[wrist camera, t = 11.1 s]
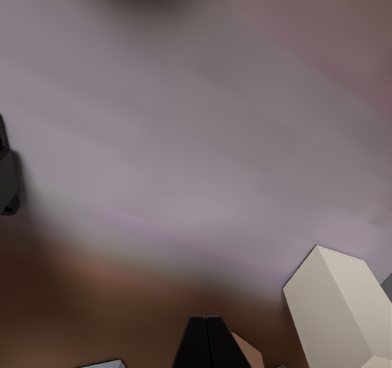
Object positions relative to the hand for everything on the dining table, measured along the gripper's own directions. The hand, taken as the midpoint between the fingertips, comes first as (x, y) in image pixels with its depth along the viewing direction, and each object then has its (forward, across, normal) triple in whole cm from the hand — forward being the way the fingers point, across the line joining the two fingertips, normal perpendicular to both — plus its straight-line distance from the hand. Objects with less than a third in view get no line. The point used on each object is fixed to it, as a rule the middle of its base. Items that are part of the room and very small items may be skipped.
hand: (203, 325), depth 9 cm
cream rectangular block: (+12, -10, +10) cm, 19 cm away
